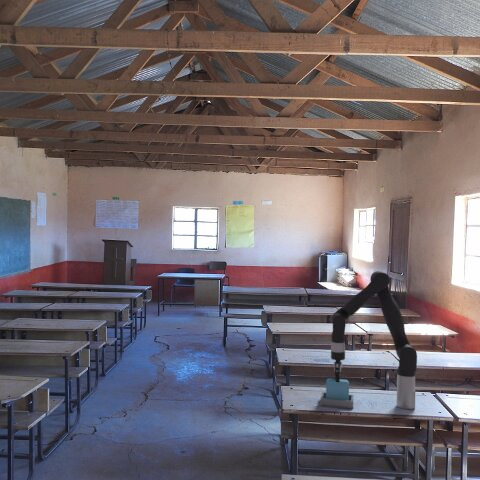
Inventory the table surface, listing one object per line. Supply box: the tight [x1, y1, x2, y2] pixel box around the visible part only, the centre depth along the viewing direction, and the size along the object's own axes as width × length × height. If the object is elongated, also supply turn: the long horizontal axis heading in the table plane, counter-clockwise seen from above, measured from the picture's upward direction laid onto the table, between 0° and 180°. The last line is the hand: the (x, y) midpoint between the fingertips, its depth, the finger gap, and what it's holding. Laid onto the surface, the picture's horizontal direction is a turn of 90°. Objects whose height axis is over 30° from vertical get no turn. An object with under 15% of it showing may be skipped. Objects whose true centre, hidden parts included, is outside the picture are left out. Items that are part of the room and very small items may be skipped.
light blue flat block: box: [325, 378, 350, 401], centre depth 272 cm, size 12×4×12 cm, turn 79°
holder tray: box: [319, 391, 354, 410], centre depth 272 cm, size 17×12×4 cm
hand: (337, 380), depth 272 cm, fingers open, 8 cm apart
